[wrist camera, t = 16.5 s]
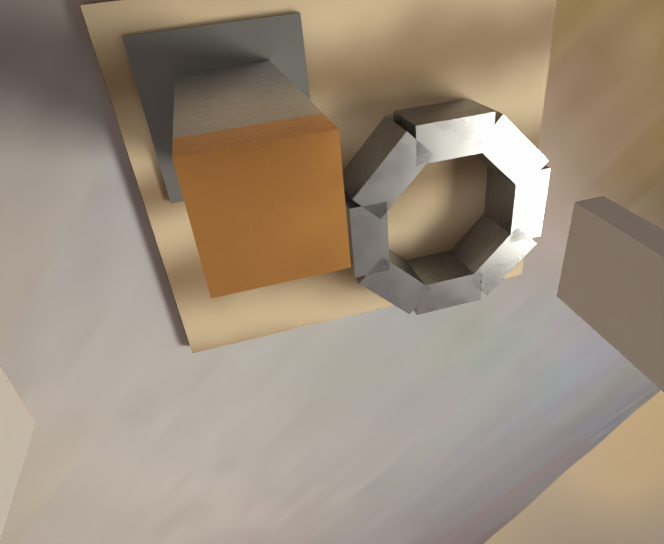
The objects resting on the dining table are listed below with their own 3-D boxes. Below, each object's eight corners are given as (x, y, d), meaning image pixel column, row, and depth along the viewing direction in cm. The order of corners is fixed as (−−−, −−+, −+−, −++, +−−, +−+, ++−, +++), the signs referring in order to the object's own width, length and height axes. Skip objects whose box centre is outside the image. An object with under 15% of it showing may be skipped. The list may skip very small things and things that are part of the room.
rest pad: (122, 35, 25) (121, 36, 25) (298, 12, 26) (300, 12, 26) (170, 201, 30) (170, 203, 29) (317, 173, 31) (319, 175, 31)
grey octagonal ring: (327, 122, 30) (343, 138, 27) (525, 88, 32) (560, 100, 29) (345, 300, 37) (359, 328, 34) (506, 262, 39) (533, 286, 36)
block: (197, 165, 29) (211, 298, 17) (174, 73, 26) (172, 157, 14) (283, 150, 30) (350, 267, 18) (269, 59, 27) (338, 128, 15)
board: (82, 4, 25) (80, 5, 24) (555, -53, 29) (564, -54, 28) (192, 346, 36) (192, 352, 36) (516, 269, 41) (521, 274, 40)
